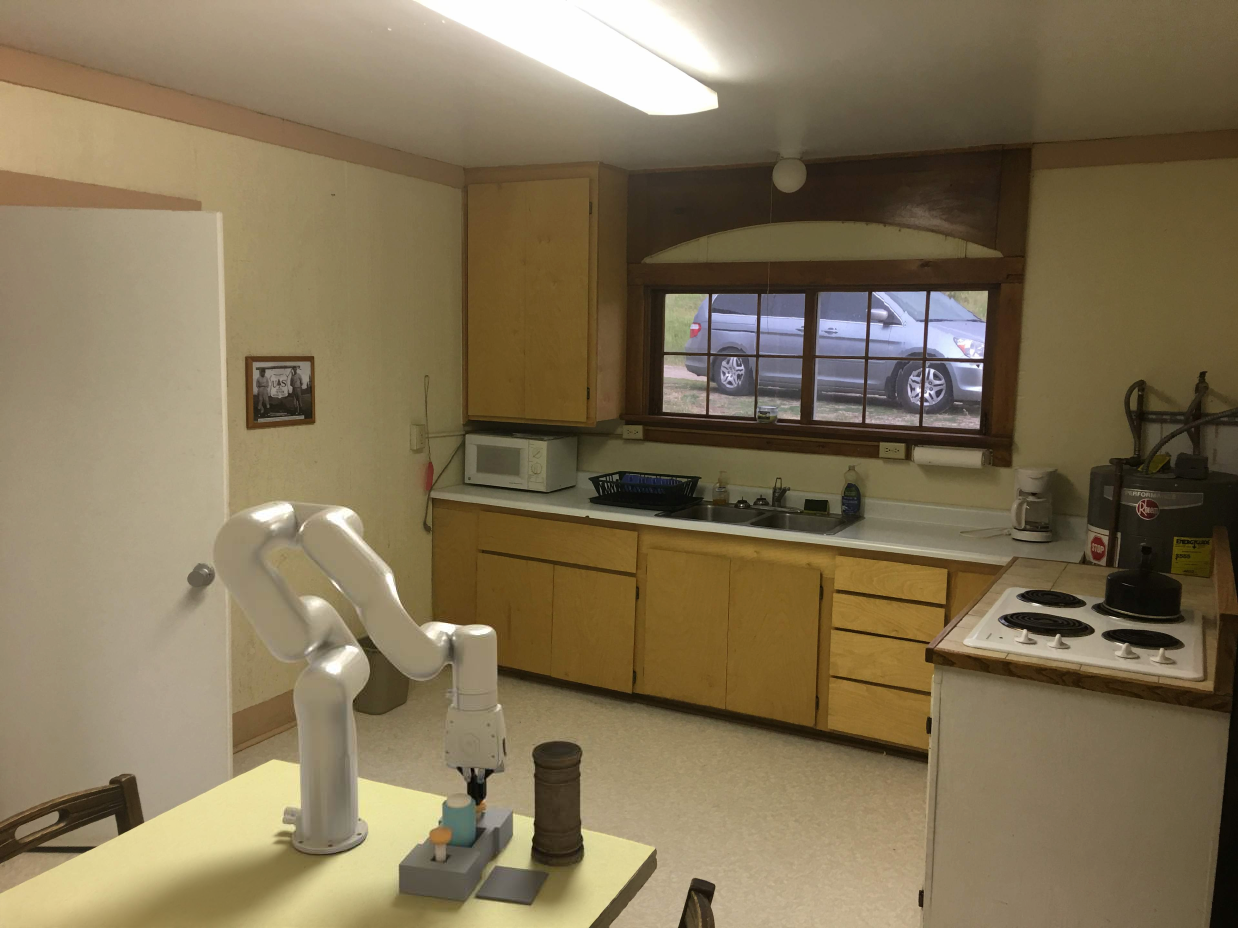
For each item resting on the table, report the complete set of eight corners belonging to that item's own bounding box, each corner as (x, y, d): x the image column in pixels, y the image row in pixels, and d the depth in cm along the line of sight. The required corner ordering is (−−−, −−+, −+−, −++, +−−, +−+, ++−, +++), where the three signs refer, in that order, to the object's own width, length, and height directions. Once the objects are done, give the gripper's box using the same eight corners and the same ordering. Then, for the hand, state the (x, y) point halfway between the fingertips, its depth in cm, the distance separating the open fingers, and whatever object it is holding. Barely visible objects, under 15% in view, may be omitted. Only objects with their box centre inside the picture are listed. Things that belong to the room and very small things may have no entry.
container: (577, 869, 152) (577, 762, 151) (524, 863, 154) (523, 757, 152) (589, 842, 161) (590, 741, 159) (539, 837, 163) (539, 737, 161)
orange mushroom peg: (463, 839, 160) (462, 804, 160) (470, 830, 164) (470, 796, 163) (482, 841, 160) (481, 807, 159) (489, 832, 163) (488, 798, 162)
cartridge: (437, 867, 152) (436, 803, 152) (450, 851, 158) (450, 789, 157) (468, 871, 151) (468, 807, 150) (480, 855, 157) (480, 793, 156)
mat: (475, 896, 144) (475, 894, 144) (495, 867, 153) (495, 865, 153) (530, 904, 142) (530, 901, 142) (548, 874, 151) (548, 871, 151)
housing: (399, 891, 145) (398, 864, 145) (454, 827, 166) (454, 802, 166) (465, 901, 143) (465, 872, 142) (513, 833, 164) (512, 809, 163)
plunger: (426, 873, 146) (425, 835, 145) (435, 863, 149) (434, 825, 148) (446, 876, 145) (446, 838, 144) (455, 865, 148) (454, 828, 148)
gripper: (425, 702, 158) (427, 807, 159) (509, 709, 154) (510, 816, 156) (443, 688, 165) (445, 788, 166) (524, 694, 162) (525, 796, 163)
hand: (477, 801), depth 161 cm, fingers closed
